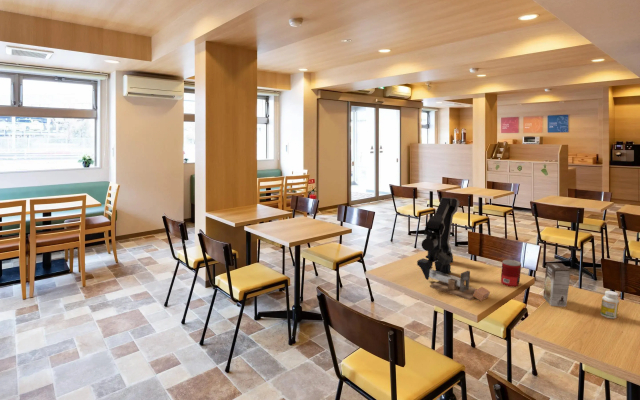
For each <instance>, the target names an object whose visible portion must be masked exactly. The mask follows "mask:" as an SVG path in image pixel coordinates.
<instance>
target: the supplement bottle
mask: <svg viewBox="0 0 640 400" xmlns="http://www.w3.org/2000/svg"><path fill="white" fill-rule="evenodd" d="M618 297H619V293H618V292H615V291H612V290H605V292H604V295H603V296H602V299H601V304H600V305H601V306H600V315H601V316H602V317H604V318H608V319H616V318H617V317H618V312H619V307H620V306H619V304H620V299H618Z"/></svg>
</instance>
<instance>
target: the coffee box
mask: <svg viewBox="0 0 640 400" xmlns="http://www.w3.org/2000/svg"><path fill="white" fill-rule="evenodd" d="M545 266H546V267H545V277H544V283H543V284H544V287H543V295H542V296H543V299H544V300H545V301H546V302H547V303H548V304H549V306H551V307H562V308H563V307H567V305H568V304H567V303H568V297H569V296H568V295H569V287H570V280H571V279H570V278H571V273H572V272H571V269H570V268H568V267H567V266H566V265H565V264H564V263H561V262H560V263H559V262H546V265H545Z"/></svg>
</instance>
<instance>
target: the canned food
mask: <svg viewBox="0 0 640 400" xmlns="http://www.w3.org/2000/svg"><path fill="white" fill-rule="evenodd" d="M501 263H502V264H501V275H500V283H501V284H502V285H503V286H506V287H510V288H516V287H519V286H520V279H521V269H522V263H521V261H518V260H514V259H503V260H502V262H501Z"/></svg>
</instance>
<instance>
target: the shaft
mask: <svg viewBox="0 0 640 400" xmlns="http://www.w3.org/2000/svg"><path fill="white" fill-rule="evenodd" d="M435 270H436V269H433V268H432V269H430V273H429V278H430V279H434V280H436V281H442V282H445V283H448V279H451V280H454V281H455V286H458V287H460V279H461V277H458V276H455V275H451V274H450V273H448V274H445V273H442V272H438V271H435Z"/></svg>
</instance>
